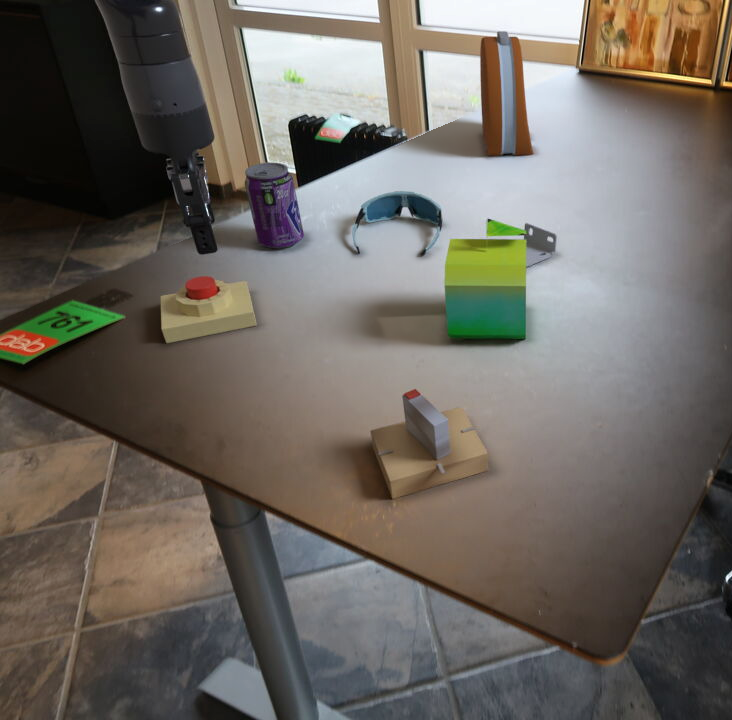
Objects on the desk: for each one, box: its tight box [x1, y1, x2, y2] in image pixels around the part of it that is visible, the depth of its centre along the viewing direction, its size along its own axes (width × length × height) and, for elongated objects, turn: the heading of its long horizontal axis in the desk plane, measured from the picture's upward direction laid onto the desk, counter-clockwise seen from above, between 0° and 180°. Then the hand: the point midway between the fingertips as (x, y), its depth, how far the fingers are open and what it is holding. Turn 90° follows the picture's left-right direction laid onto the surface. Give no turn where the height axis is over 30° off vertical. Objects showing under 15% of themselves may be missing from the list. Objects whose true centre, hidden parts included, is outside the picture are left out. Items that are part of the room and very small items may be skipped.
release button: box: [184, 275, 218, 300], centre depth 92 cm, size 4×4×2 cm
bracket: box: [523, 222, 558, 268], centre depth 109 cm, size 7×10×4 cm, turn 140°
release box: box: [160, 279, 258, 344], centre depth 93 cm, size 11×9×4 cm
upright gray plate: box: [401, 388, 450, 460], centre depth 70 cm, size 6×2×5 cm, turn 39°
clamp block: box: [370, 406, 489, 500], centre depth 72 cm, size 10×10×3 cm
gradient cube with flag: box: [444, 218, 527, 340], centre depth 90 cm, size 11×10×15 cm
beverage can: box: [244, 162, 305, 249], centre depth 110 cm, size 7×7×12 cm
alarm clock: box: [479, 30, 535, 157], centre depth 148 cm, size 22×10×23 cm, turn 8°
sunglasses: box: [351, 190, 444, 257], centre depth 115 cm, size 14×15×5 cm
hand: (207, 237), depth 86 cm, fingers open, 8 cm apart
